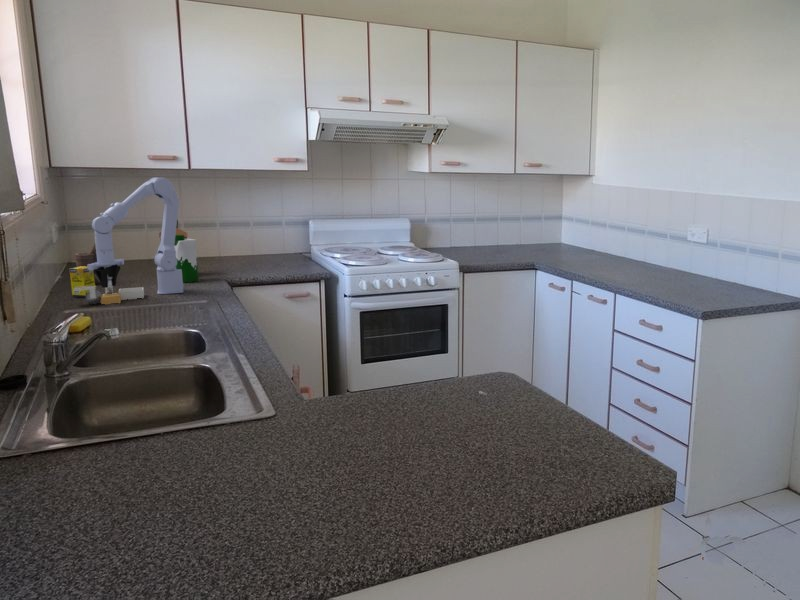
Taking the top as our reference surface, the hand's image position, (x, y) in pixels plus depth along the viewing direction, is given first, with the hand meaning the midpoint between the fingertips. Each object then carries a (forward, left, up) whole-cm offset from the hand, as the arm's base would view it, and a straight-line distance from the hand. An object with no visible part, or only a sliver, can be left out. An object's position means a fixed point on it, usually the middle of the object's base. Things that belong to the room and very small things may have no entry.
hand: (108, 286), depth 226 cm
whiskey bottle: (-24, -43, -5) cm, 50 cm away
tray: (-7, 0, -5) cm, 9 cm away
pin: (0, 0, -3) cm, 3 cm away
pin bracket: (0, 0, -5) cm, 5 cm away
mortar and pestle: (+9, -36, -5) cm, 38 cm away
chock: (-1, +7, -5) cm, 9 cm away
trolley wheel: (+6, +7, -5) cm, 11 cm away
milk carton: (-28, -28, -5) cm, 41 cm away
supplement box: (+10, -10, -5) cm, 15 cm away
